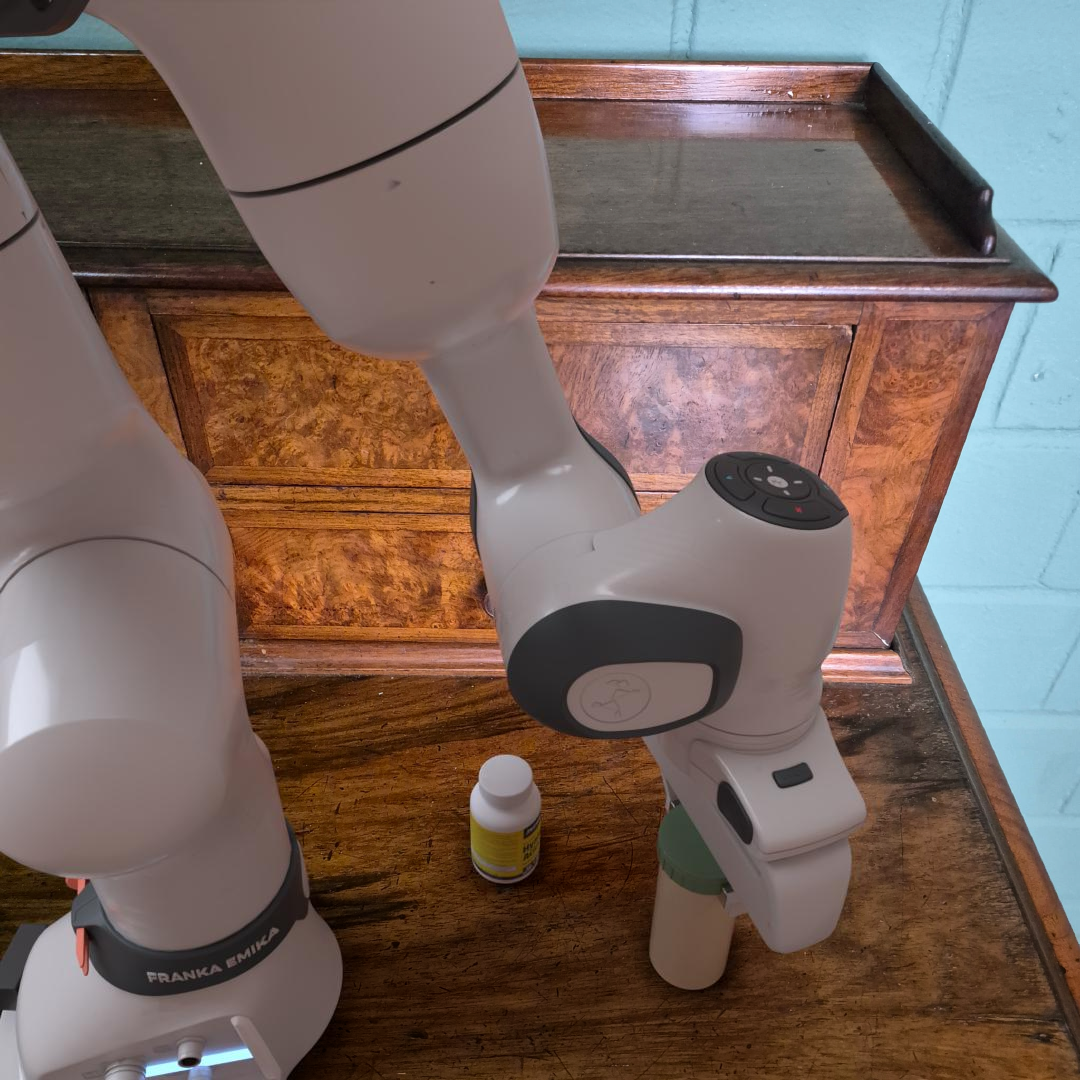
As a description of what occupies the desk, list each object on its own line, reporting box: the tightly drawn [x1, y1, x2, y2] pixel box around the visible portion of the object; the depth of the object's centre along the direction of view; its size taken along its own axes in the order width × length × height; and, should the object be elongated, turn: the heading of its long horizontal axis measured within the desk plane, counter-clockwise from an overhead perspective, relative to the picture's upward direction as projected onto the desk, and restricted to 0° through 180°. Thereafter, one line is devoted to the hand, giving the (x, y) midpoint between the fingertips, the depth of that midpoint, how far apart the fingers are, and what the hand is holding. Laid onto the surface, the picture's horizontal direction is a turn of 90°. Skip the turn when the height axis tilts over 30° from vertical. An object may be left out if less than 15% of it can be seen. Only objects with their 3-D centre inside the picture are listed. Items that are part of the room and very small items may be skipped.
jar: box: [648, 862, 737, 991], centre depth 65 cm, size 6×6×12 cm
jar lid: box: [655, 804, 729, 895], centre depth 62 cm, size 6×6×2 cm
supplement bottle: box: [469, 754, 542, 884], centre depth 72 cm, size 5×5×10 cm
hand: (706, 859), depth 63 cm, fingers closed on jar lid, 6 cm apart
